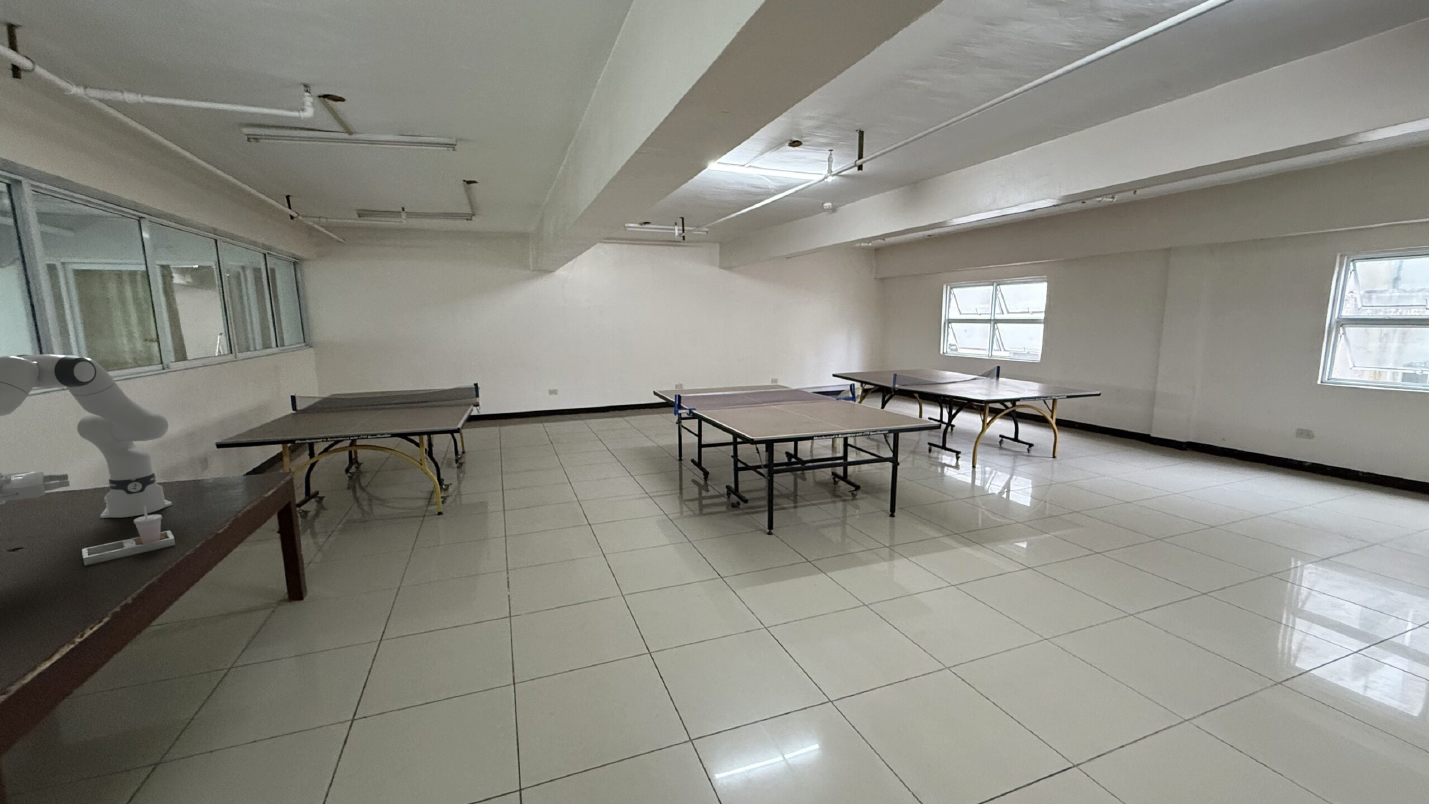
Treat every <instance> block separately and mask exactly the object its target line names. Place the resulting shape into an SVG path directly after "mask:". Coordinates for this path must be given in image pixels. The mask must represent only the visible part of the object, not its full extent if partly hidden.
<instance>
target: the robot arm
mask: <svg viewBox="0 0 1429 804" xmlns="http://www.w3.org/2000/svg"><path fill="white" fill-rule="evenodd" d="M33 388H42V389H43V388H45V389H53V388H66V389H67V390H68V391H69V393H70V394H71V395H72V397H74V399H75V400H76V401H77V403H78V404H79V405H80V407H82V408H83V410H84V411H86V412H88V413H90V414H89V415H85V416H83V417H82V418H81V419H80V420H79V421H78V424H77V427H76V429H77V432H78V435H79V436H80V437H81V438H82V439H84V440H86V441H87V442H90V443H91V444H92V445H94V446H95V448H97V449H98V450H99V451H100V453H101V454H102V456H104V459H105V462H106V463H107V469H108V474H109V479H108V485H109V489H110V491H109V492H108V493H107V494H105V496H104V503H106V504H105V509H104V510H103V511H102V513H101V514H100V518H101V519H104V518H105V519H106V518H107V519H109V518H128V517H134V516H135V517H136V516H141V515H142V516H143V515H145V514H144V508H143V506H146V511H147V514H150V513H155V512H157V511H159V510H161V509H164V508H167V507H170V506H172V505H173V503H172V501H169V500H167V499H165V495H164V489H163V486H162V485H160V484H158V483H157V480H156V474H155V473H154V472H153V467H152V461H151V455H150V453H149V452H148V451H145V450H144V449H141V448H139V447H138V446H137V445H136V444H135V443H134V442H146V441H147V442H148V441H154V440H158V439H161V438H162V437H164V436H165V435H166V434H167V432H168V429H169V423H168V421H167V419H166V417H164V416H163V415H161V414H160V413H159V414H158V413H156V412H152V411H150V410H148V409H146V408H144V407H143V406H141V405H139V404H138V403H136V402H135V401H133V400H132V399H131V398H129V397H128V396H127V395H126V394H125V393H124V391H123V390H122V389H121V388H120V386H119V385H118V384H117V383H116V381H115V380H114V378H113V377H112V375H111V374H109V372H108V371H107V370H106V369H105V368H104V367H103V366H102V365H100V363H98V362H97V361H95V360H94V359H92V358H89V357H83V356H78V355H72V354H68V355H67V354H66V355H65V354H55V353H53V354H52V353H50V354H49V353H46V354H45V353H44V354H18V355H3V356H0V417H4V416H7V415H11V414H12V413H13V412H15V410H17V409H18V408H19V407H20V406H21V405H22V404H23V403H24V402H25V400H26V398H27V397H28V396H29V395H30V393H31V391H32V390H33ZM66 487H70V480H69V474H68V473H62V474H46V475H45V473H44V471H26V472H15V473H6V474H3V473H2V472H0V505H5V504H6V501H16V500H18V501H19V500H25V499H26V500H27V499H31V498H33V499H34V498H39V497H43V496H45V495H46V492H48V491H54V490H57V489H61V488H66Z"/></svg>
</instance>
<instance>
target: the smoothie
mask: <svg viewBox="0 0 1429 804" xmlns="http://www.w3.org/2000/svg"><path fill="white" fill-rule="evenodd" d="M143 508H144V514H143V515H142V516H139V517H137V518H135V519H133V524H135V526H136V529H137V532H138V535H139V537H140V538H141V540H142V543H143V544H145V543H150V542H154V541H159V540H160V532H161V527H162V526H161V525H162V523H161V522H162V521H161V520H162V519H163V517H162V515H161V514H159V513H158V514H148V513H147V511H146V506H143Z"/></svg>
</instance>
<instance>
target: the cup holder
mask: <svg viewBox="0 0 1429 804" xmlns="http://www.w3.org/2000/svg"><path fill="white" fill-rule="evenodd" d="M173 546H176V541H175V537H174V535H173V533H172V531H171V530H166V531H160V540H159V541H154V542H150V543H145V544H143V543H142V540H141V538H140V536H136V537H131V538H128V539H122V540H119V541H112V542H108V543H104V544H99V545H95V546H90V547H84V548H81V552H82V559H83V563H84V566H88V565H94V564H98V563H103V562H107V561H110V560H115V559H119V558H124V557H128V556H133V555H138V554H142V553H145V552H146V553H147V552H151V551H155V550H159V549H164V548H168V547H173Z"/></svg>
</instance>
